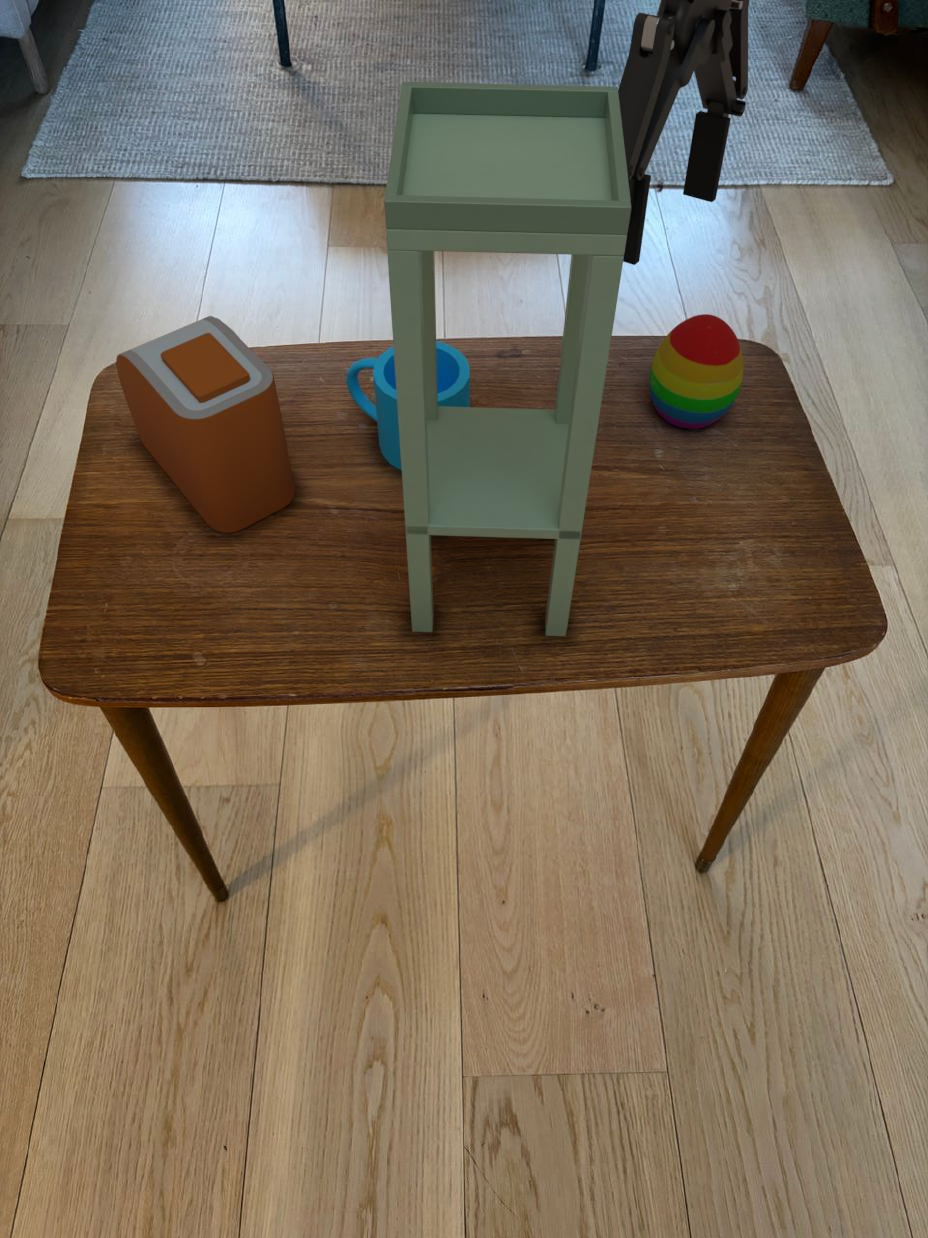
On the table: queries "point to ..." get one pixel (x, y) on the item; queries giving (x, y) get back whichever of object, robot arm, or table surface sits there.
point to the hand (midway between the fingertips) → (662, 226)
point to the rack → (503, 223)
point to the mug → (449, 389)
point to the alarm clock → (211, 422)
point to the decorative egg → (696, 372)
